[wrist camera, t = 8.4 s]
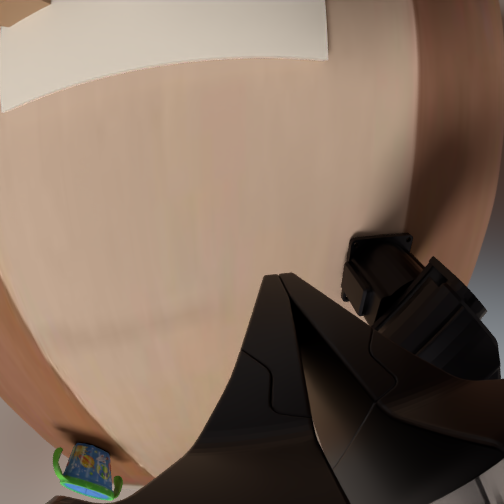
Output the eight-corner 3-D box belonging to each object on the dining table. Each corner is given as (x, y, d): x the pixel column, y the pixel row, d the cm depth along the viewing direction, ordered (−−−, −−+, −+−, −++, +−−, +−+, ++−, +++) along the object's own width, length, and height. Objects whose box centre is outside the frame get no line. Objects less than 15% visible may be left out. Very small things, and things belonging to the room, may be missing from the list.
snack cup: (48, 432, 37) (39, 474, 28) (79, 430, 36) (70, 480, 27) (102, 463, 45) (98, 501, 36) (136, 462, 44) (134, 505, 35)
